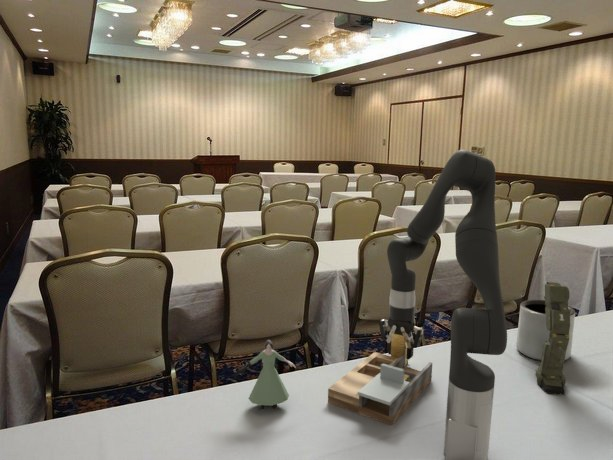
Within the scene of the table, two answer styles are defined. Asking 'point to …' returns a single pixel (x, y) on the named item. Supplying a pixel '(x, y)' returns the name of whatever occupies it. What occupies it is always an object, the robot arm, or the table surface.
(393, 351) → the pin
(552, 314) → the mechanical leg
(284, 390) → the character figurine
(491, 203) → the robot arm
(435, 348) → the table surface
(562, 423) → the table surface
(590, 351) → the table surface
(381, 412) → the board
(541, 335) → the planter
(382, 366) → the lid
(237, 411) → the table surface
